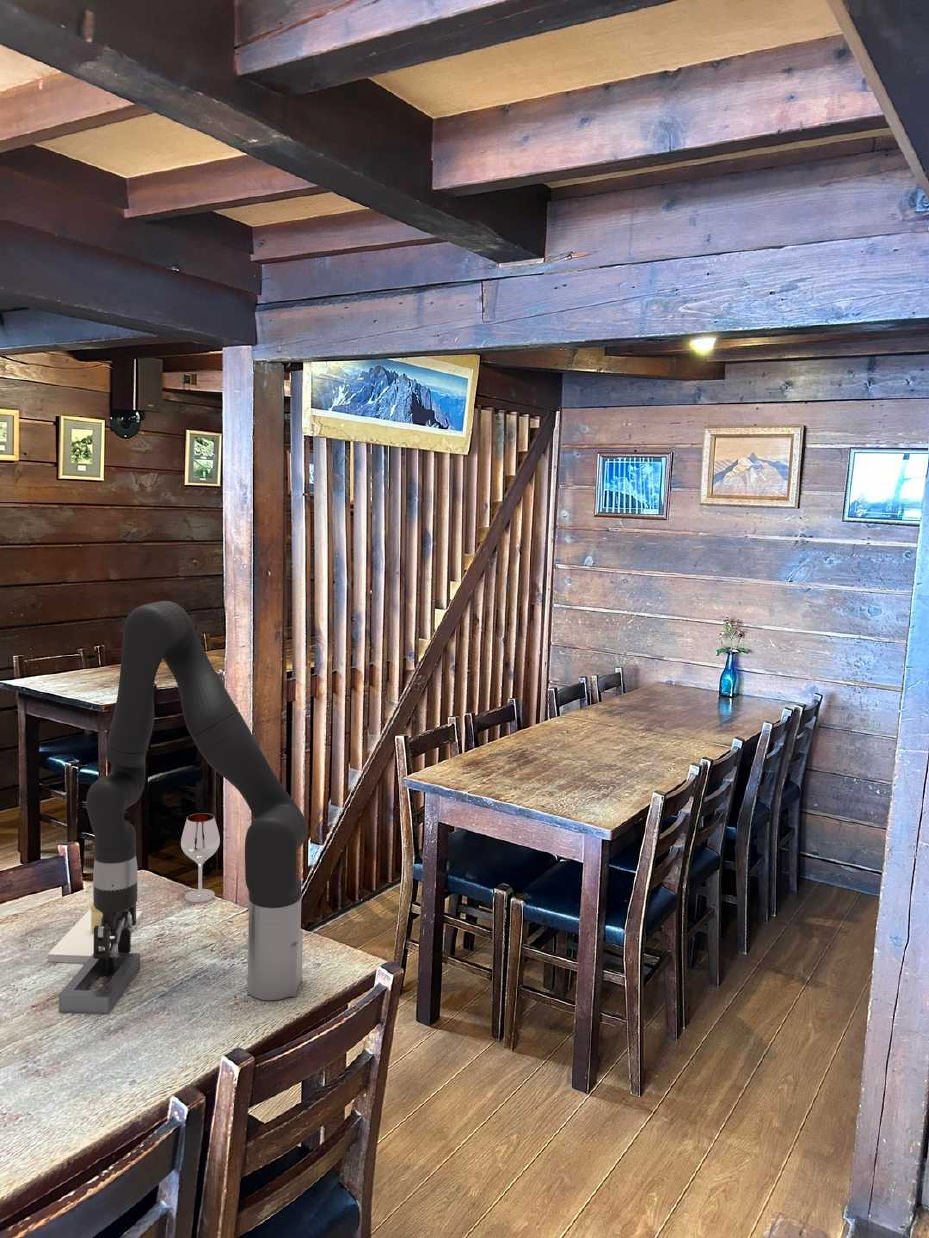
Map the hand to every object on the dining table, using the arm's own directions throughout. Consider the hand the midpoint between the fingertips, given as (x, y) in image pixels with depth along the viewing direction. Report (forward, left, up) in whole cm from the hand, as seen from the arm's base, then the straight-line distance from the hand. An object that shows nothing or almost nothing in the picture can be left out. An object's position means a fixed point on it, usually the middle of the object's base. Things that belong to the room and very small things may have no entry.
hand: (115, 963), depth 165 cm
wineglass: (-6, -32, -1) cm, 33 cm away
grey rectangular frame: (0, +7, -1) cm, 7 cm away
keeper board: (+8, -11, -1) cm, 14 cm away
